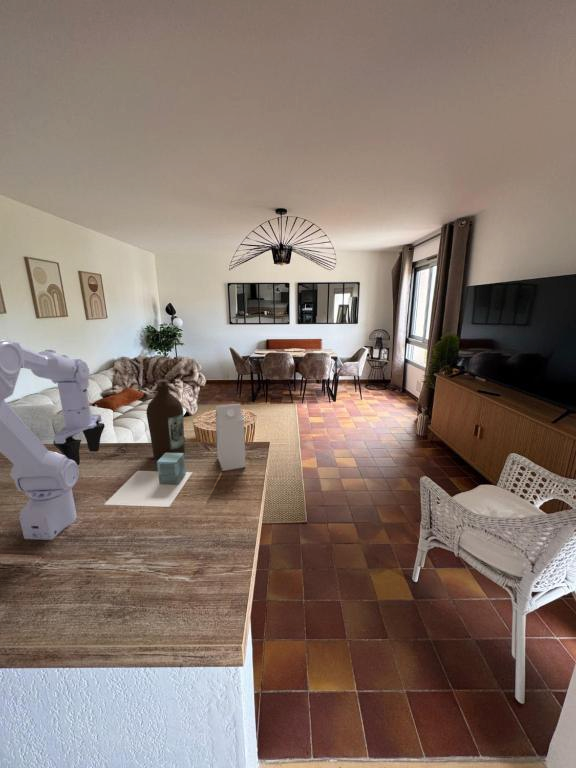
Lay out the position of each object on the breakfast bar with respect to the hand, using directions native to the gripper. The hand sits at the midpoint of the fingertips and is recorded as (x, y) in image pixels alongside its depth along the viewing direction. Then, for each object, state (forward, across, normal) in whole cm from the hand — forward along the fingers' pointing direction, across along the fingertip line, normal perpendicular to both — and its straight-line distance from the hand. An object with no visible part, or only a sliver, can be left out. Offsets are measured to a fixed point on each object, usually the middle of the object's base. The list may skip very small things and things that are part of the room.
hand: (84, 457), depth 84 cm
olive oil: (+10, +20, -13) cm, 26 cm away
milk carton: (+10, +16, -34) cm, 39 cm away
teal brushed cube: (+8, +4, -20) cm, 23 cm away
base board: (+9, 0, -16) cm, 19 cm away
